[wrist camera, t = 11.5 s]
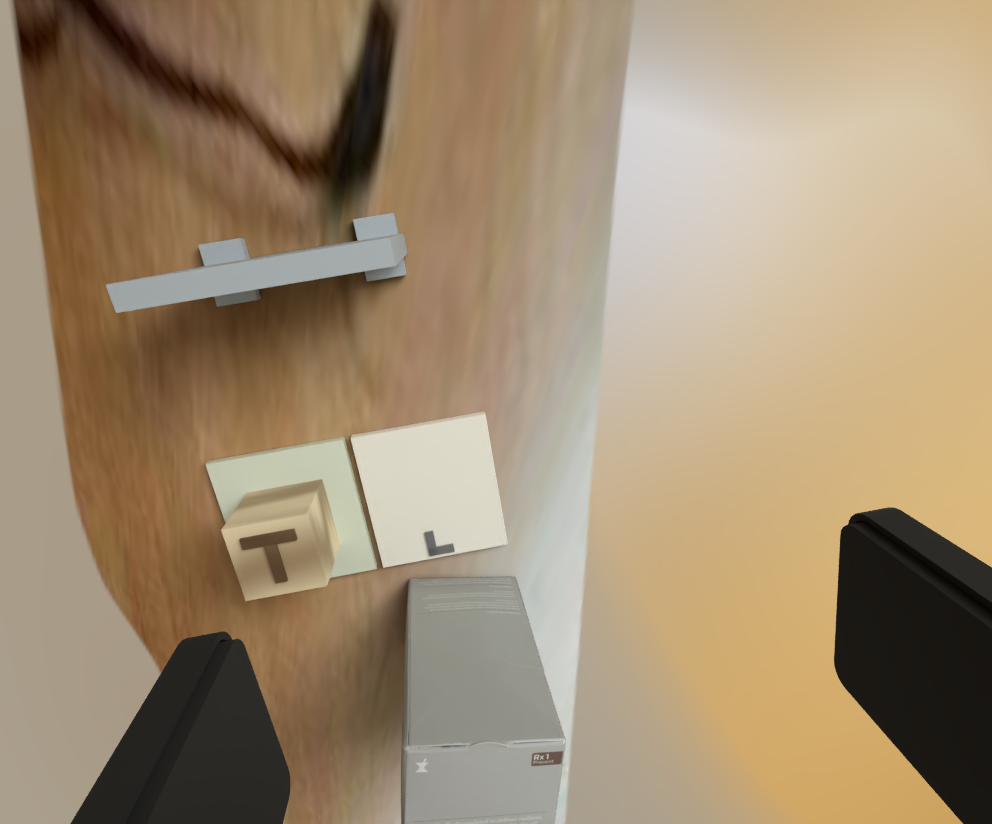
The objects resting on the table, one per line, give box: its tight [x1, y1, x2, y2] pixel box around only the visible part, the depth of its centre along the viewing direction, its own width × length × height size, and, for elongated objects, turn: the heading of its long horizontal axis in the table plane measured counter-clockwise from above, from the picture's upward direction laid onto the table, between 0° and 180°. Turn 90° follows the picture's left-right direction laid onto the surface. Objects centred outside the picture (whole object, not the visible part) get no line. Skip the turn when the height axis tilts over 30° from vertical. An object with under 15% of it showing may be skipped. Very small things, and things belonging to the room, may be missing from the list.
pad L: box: [350, 411, 508, 568], centre depth 40 cm, size 10×9×1 cm
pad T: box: [205, 437, 377, 578], centre depth 40 cm, size 10×9×1 cm
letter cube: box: [221, 479, 340, 601], centre depth 37 cm, size 5×5×5 cm
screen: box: [106, 213, 407, 313], centre depth 30 cm, size 4×12×11 cm, turn 99°
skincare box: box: [401, 577, 566, 824], centre depth 37 cm, size 8×7×16 cm
